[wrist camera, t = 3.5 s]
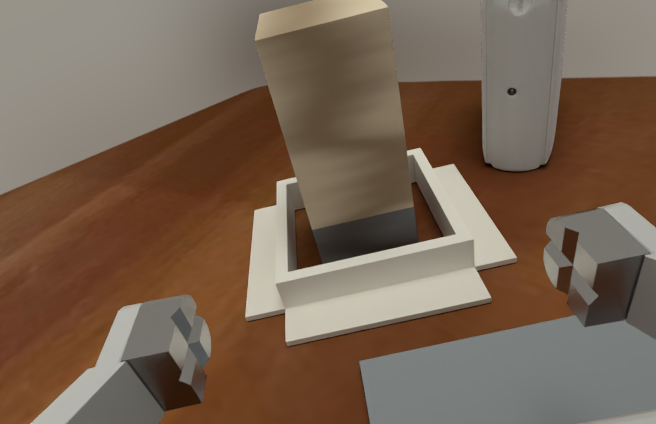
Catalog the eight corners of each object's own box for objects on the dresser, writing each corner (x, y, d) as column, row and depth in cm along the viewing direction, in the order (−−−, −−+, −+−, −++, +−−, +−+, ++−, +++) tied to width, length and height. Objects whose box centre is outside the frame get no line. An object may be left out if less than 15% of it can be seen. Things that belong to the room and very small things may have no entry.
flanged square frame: (444, 153, 30) (442, 127, 29) (536, 292, 19) (540, 258, 18) (257, 197, 31) (248, 173, 29) (244, 355, 20) (229, 327, 19)
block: (398, 200, 27) (366, -14, 20) (419, 253, 23) (388, 6, 16) (318, 218, 27) (259, 14, 20) (325, 274, 23) (254, 41, 16)
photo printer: (554, 175, 25) (578, -73, 18) (476, 173, 27) (471, -53, 20) (557, 99, 33) (575, -100, 26) (495, 102, 34) (496, -83, 27)
